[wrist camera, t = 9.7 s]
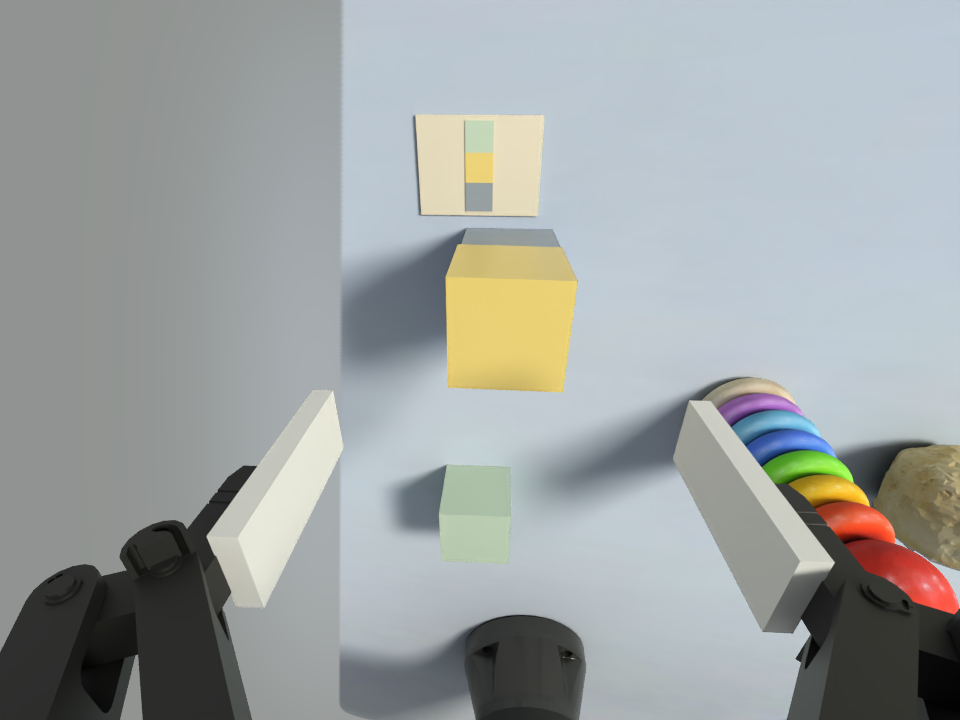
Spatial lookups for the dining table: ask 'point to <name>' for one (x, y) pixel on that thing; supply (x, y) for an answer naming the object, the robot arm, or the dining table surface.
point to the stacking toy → (825, 485)
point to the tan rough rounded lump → (925, 501)
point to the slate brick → (511, 237)
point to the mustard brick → (509, 317)
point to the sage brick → (475, 514)
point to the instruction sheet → (479, 164)
